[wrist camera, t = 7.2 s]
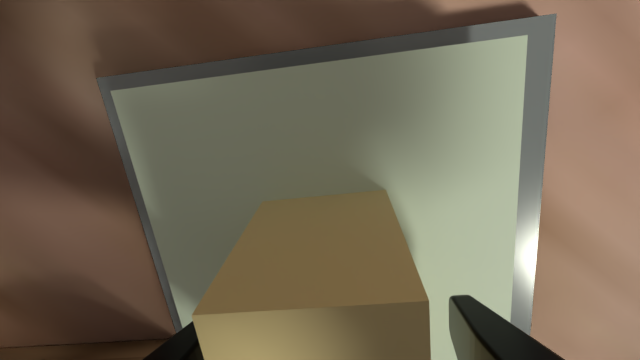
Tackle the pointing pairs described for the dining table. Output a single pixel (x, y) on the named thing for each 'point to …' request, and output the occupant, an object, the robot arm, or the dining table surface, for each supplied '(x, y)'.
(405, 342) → the lid
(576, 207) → the dining table surface
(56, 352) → the box
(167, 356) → the robot arm
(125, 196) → the dining table surface
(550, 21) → the coaster
